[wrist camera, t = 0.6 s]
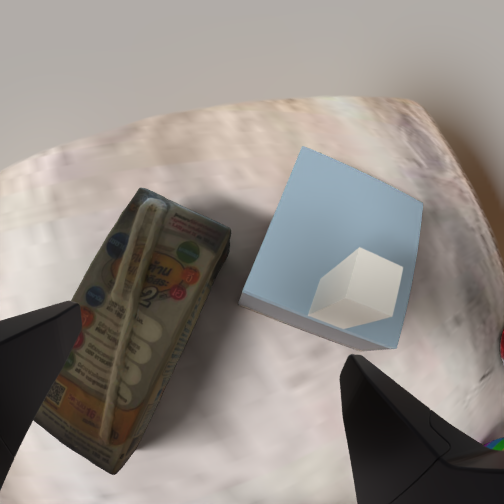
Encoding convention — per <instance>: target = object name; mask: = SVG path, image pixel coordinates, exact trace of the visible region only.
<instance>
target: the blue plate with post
mask: <svg viewBox="0 0 504 504" xmlns="http://www.w3.org/2000/svg"><path fill="white" fill-rule="evenodd" d="M422 211H423V203H422V202H420V201H418V200H416V199H414V198H413V197H411V196H409V195H407V194H405V193H403V192H401V191H399V190H398V189H396V188H394V187H392V186H390V185H388V184H386V183H384V182H382V181H380V180H378V179H376V178H374V177H372V176H370V175H368V174H365V173H363V172H361V171H359V170H357V169H355V168H353V167H351V166H348V165H346V164H344V163H342V162H340V161H337V160H335V159H333V158H330V157H328V156H326V155H323V154H321V153H319V152H316V151H314V150H312V149H309V148H307V147H304V146H302V148H301V151H300V153H299V155H298V158H297V160H296V163H295V165H294V168H293V170H292V173H291V175H290V177H289V180H288V182H287V185H286V187H285V190H284V192H283V194H282V197H281V199H280V202H279V204H278V207H277V209H276V211H275V214H274V216H273V219H272V221H271V223H270V226H269V228H268V231H267V233H266V236H265V238H264V240H263V243H262V245H261V248H260V250H259V252H258V255H257V257H256V260H255V262H254V264H253V267H252V269H251V272H250V274H249V276H248V279H247V281H246V284H245V286H244V288H243V291H242V292H243V293H245V294H248V295H250V296H253V297H255V298H257V299H260V300H262V301H265V302H267V303H270V304H272V305H275V306H277V307H280V308H282V309H285V310H287V311H290V312H293V313H295V314H298V315H300V316H303V317H305V318H308V319H311V320H313V321H316V322H318V323H321V324H324V325H326V326H329V327H332V328H334V329H337V330H340V331H342V332H345V333H348V334H350V335H353V336H356V337H359V338H361V339H364V340H367V341H370V342H372V343H375V344H378V345H381V346H384V347H387V348H389V349H396V348H397V345H398V341H399V338H400V334H401V330H402V326H403V322H404V318H405V313H406V309H407V305H408V300H409V295H410V290H411V285H412V280H413V275H414V269H415V263H416V257H417V251H418V244H419V237H420V229H421V220H422Z"/></svg>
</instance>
